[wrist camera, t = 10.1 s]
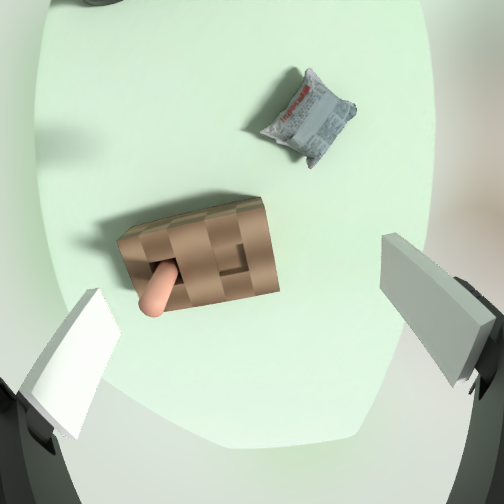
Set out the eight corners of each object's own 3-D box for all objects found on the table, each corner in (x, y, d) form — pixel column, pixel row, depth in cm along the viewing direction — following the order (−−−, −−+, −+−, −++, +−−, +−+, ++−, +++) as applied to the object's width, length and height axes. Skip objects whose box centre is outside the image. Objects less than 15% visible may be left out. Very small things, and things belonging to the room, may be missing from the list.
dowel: (160, 253, 39) (134, 296, 28) (178, 249, 39) (158, 292, 28) (166, 271, 40) (144, 318, 29) (184, 268, 40) (167, 315, 29)
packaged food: (257, 132, 35) (261, 131, 31) (306, 69, 32) (315, 61, 27) (307, 168, 38) (317, 173, 33) (353, 107, 34) (367, 104, 30)
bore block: (131, 227, 39) (116, 241, 34) (260, 197, 39) (264, 207, 33) (155, 293, 44) (146, 314, 39) (274, 271, 43) (279, 291, 38)
